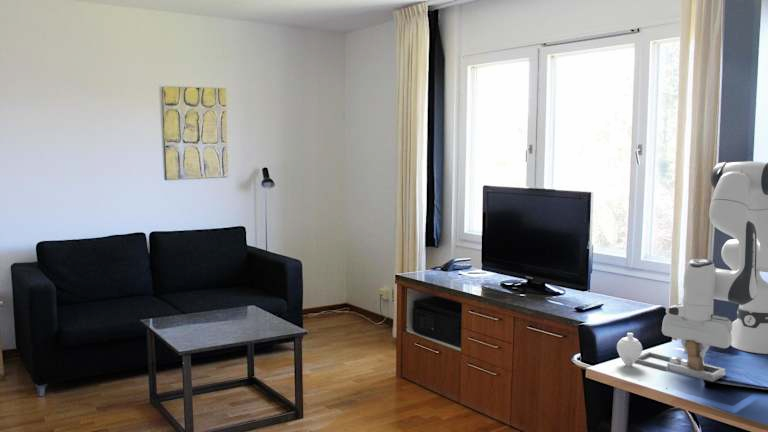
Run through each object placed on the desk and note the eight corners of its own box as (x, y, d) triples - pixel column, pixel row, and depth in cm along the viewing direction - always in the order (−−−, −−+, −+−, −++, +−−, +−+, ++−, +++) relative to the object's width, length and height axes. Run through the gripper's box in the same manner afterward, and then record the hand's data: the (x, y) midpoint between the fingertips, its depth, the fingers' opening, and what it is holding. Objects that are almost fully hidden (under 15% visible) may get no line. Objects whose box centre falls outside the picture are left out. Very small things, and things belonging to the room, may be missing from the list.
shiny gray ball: (672, 364, 218) (672, 355, 218) (682, 367, 215) (683, 358, 215) (667, 366, 216) (668, 357, 215) (678, 369, 213) (678, 360, 213)
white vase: (619, 364, 222) (621, 328, 221) (643, 369, 218) (645, 332, 217) (612, 370, 216) (614, 333, 214) (637, 375, 212) (639, 337, 210)
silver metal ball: (682, 367, 215) (682, 358, 215) (693, 369, 213) (693, 360, 213) (678, 370, 213) (678, 360, 213) (689, 372, 211) (690, 363, 210)
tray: (648, 359, 228) (648, 352, 228) (681, 367, 220) (681, 360, 219) (632, 366, 221) (632, 358, 220) (665, 375, 212) (665, 366, 212)
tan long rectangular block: (695, 369, 213) (692, 338, 213) (704, 370, 211) (700, 338, 211) (689, 372, 210) (686, 340, 210) (697, 373, 208) (694, 341, 208)
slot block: (679, 368, 219) (680, 357, 219) (724, 379, 209) (725, 368, 208) (666, 374, 213) (667, 363, 213) (712, 386, 203) (713, 375, 202)
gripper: (736, 316, 204) (733, 361, 205) (669, 304, 219) (667, 346, 220) (728, 320, 200) (725, 365, 201) (660, 307, 215) (658, 349, 216)
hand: (694, 355), depth 211 cm, fingers open, 3 cm apart
